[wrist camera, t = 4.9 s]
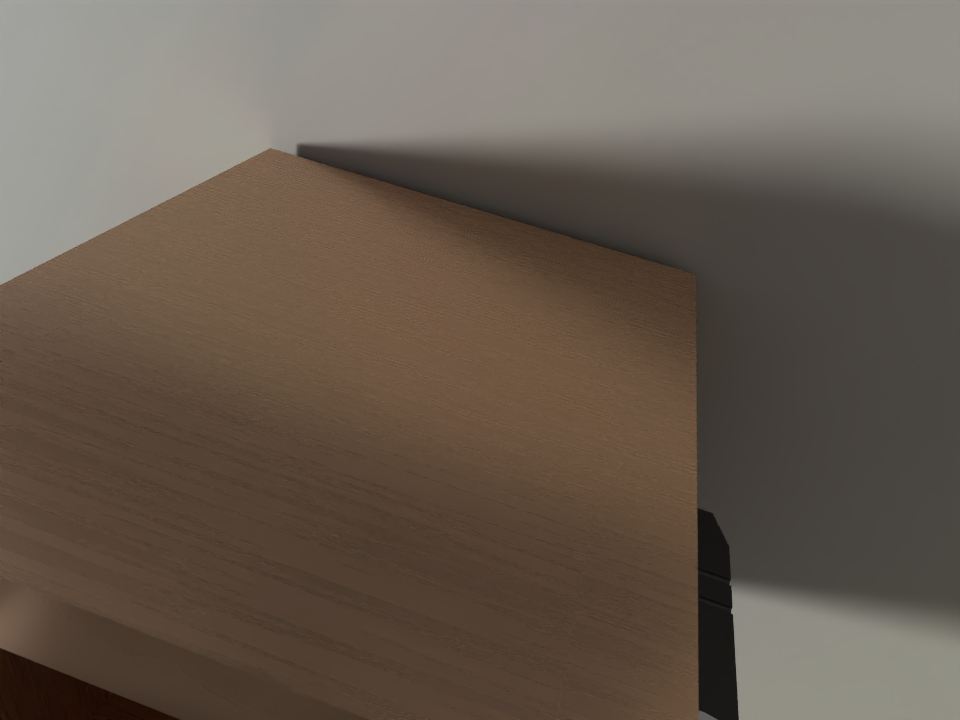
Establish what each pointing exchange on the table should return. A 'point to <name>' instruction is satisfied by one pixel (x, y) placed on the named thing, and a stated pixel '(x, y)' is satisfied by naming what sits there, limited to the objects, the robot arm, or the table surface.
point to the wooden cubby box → (346, 465)
